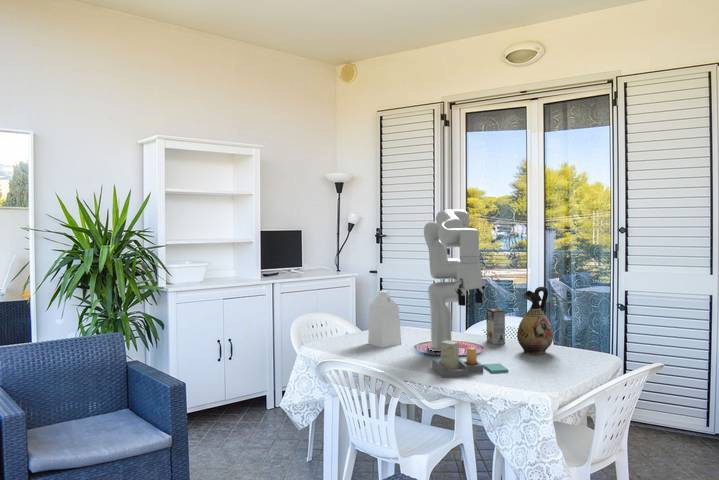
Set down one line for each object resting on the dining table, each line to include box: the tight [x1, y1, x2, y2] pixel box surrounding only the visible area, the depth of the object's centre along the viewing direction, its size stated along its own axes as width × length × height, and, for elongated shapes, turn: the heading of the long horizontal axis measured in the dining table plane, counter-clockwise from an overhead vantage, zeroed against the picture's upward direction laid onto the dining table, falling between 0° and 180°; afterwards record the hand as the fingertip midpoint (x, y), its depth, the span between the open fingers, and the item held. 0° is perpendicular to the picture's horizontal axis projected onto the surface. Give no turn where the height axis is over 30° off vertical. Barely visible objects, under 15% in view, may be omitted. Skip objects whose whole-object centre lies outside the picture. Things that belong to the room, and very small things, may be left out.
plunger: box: [465, 347, 478, 365], centre depth 233 cm, size 4×4×6 cm
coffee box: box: [485, 307, 506, 345], centre depth 284 cm, size 9×6×16 cm
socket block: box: [431, 357, 484, 379], centre depth 233 cm, size 15×18×4 cm
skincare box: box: [440, 340, 460, 370], centre depth 232 cm, size 6×4×12 cm
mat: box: [482, 362, 509, 374], centre depth 235 cm, size 10×7×1 cm
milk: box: [367, 290, 402, 349], centre depth 286 cm, size 12×12×26 cm
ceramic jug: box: [516, 286, 554, 356], centre depth 260 cm, size 17×15×30 cm
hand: (470, 304), depth 227 cm, fingers open, 9 cm apart
